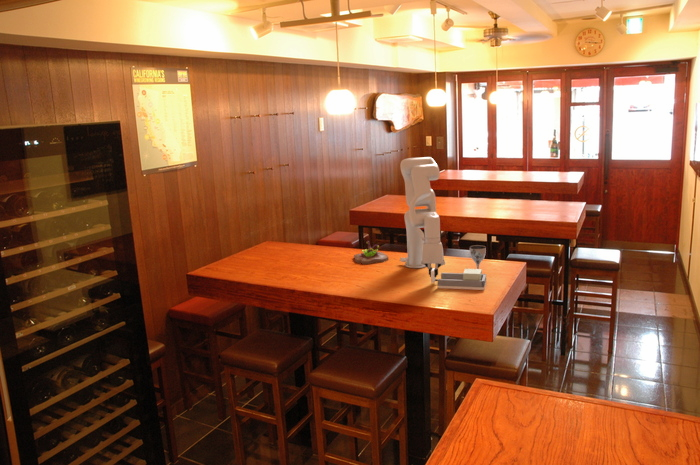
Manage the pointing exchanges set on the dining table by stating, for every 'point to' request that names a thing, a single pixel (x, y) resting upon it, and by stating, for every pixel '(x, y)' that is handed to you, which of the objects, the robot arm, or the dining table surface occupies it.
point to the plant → (370, 256)
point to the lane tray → (460, 282)
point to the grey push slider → (467, 275)
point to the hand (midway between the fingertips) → (433, 276)
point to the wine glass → (477, 253)
